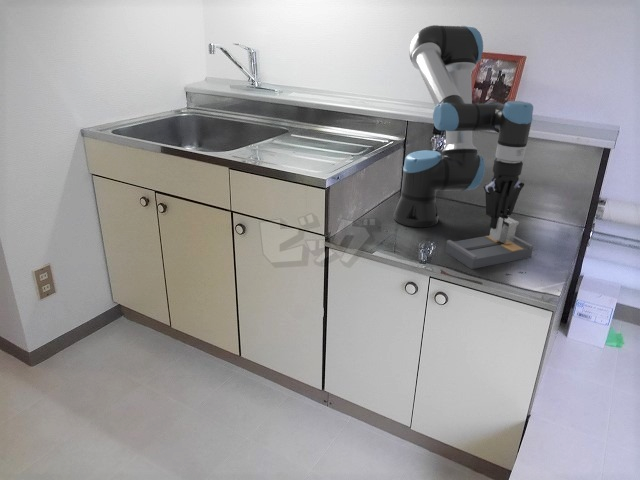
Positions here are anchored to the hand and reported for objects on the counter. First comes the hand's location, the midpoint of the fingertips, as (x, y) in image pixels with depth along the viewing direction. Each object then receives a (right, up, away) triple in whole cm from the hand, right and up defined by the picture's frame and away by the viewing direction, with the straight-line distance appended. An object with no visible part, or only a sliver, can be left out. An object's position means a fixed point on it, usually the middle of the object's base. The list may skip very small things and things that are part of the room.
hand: (494, 237), depth 151 cm
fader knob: (+4, -1, +2) cm, 5 cm away
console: (-1, -5, +2) cm, 5 cm away
